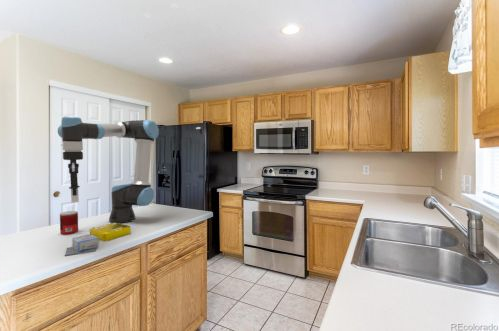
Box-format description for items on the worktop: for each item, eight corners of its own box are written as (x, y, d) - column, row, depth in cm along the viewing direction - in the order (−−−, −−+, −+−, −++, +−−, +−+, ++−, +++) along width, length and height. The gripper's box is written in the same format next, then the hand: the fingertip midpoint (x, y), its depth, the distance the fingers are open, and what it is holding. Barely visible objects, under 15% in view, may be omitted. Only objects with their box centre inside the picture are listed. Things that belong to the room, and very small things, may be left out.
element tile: (105, 242, 124) (104, 232, 124) (88, 237, 132) (87, 228, 131) (132, 234, 137) (132, 225, 137) (115, 229, 145) (115, 221, 145)
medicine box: (91, 233, 121) (98, 237, 115) (91, 242, 121) (98, 247, 116) (71, 238, 115) (78, 242, 109) (72, 247, 115) (79, 252, 109)
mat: (95, 244, 120) (95, 243, 120) (95, 251, 112) (95, 250, 112) (67, 248, 115) (67, 247, 115) (64, 256, 107) (64, 255, 107)
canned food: (81, 230, 140) (81, 211, 140) (67, 235, 133) (67, 214, 132) (71, 229, 142) (70, 210, 142) (56, 234, 135) (56, 213, 134)
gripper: (63, 150, 119) (65, 200, 120) (61, 151, 108) (64, 205, 109) (82, 150, 123) (84, 198, 124) (82, 151, 112) (84, 203, 113)
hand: (75, 202), depth 117 cm, fingers closed
